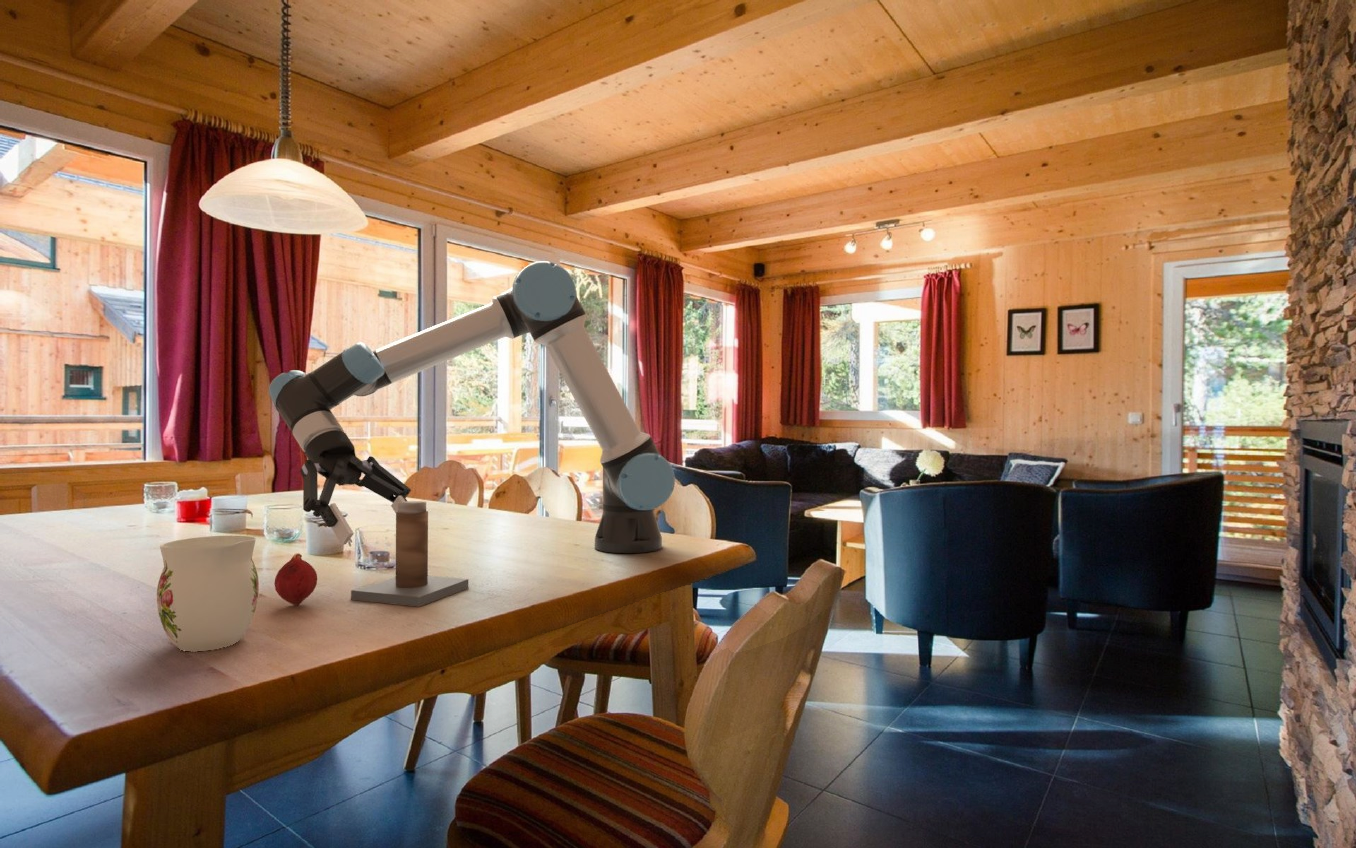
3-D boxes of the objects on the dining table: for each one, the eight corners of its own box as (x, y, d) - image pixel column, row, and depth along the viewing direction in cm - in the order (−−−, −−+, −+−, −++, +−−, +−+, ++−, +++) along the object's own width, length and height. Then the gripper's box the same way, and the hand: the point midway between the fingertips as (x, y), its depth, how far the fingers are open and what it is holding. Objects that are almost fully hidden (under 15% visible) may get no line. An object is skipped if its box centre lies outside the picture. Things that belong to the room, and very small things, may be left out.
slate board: (405, 582, 128) (405, 573, 128) (468, 587, 124) (468, 579, 124) (351, 599, 116) (351, 590, 116) (419, 606, 112) (419, 597, 112)
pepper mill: (409, 580, 123) (409, 500, 123) (433, 582, 122) (434, 501, 121) (388, 586, 118) (389, 503, 118) (414, 588, 117) (415, 504, 117)
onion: (304, 610, 109) (304, 557, 109) (266, 610, 109) (266, 557, 109) (324, 600, 115) (324, 550, 115) (288, 600, 115) (288, 550, 115)
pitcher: (236, 619, 104) (236, 524, 104) (275, 648, 91) (275, 540, 91) (142, 635, 96) (142, 533, 96) (171, 670, 84) (171, 551, 84)
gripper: (372, 454, 142) (428, 537, 135) (246, 460, 120) (304, 560, 113) (392, 427, 139) (449, 510, 132) (266, 429, 117) (327, 528, 110)
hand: (382, 533), depth 123 cm, fingers open, 13 cm apart
